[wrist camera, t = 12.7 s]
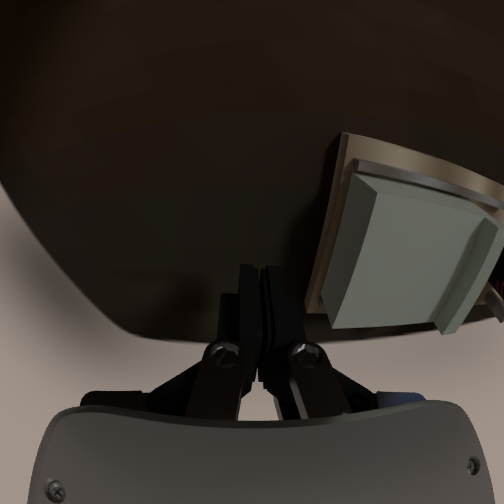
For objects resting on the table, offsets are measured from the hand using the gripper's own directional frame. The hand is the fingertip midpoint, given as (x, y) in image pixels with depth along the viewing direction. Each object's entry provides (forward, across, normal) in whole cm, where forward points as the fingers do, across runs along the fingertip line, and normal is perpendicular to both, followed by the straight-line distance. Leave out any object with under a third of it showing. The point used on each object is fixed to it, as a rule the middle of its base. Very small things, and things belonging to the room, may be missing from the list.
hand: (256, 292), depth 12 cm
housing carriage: (+4, -10, -1) cm, 11 cm away
